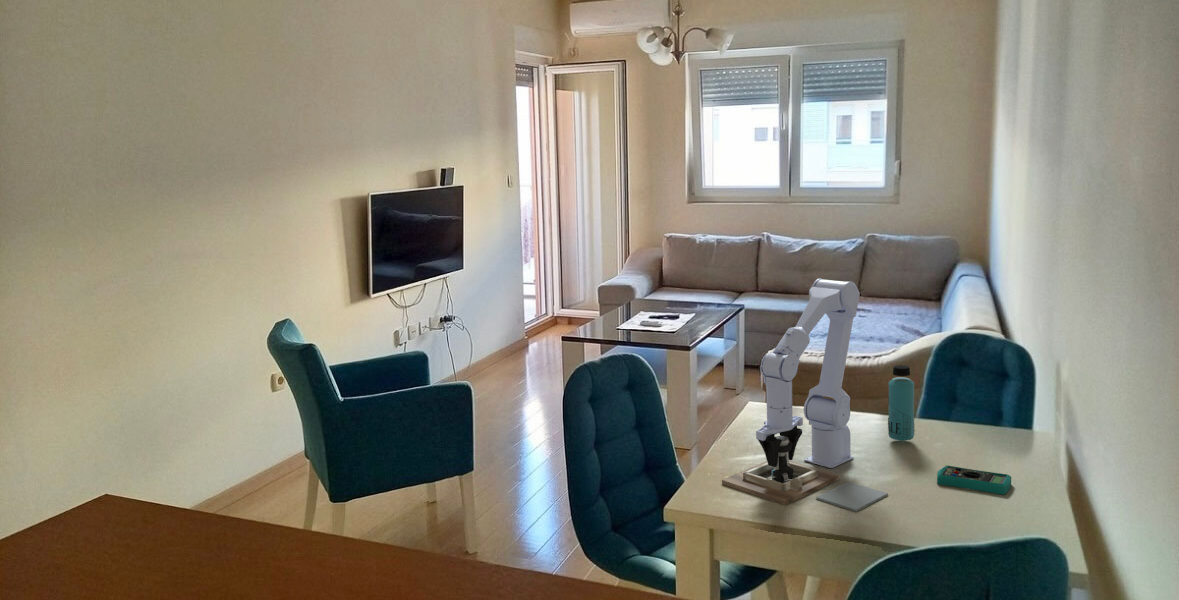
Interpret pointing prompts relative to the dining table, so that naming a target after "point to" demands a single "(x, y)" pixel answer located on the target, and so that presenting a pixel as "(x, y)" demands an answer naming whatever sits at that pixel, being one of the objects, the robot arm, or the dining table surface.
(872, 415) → the dining table surface
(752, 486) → the brown flat rectangular frame
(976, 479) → the digital multimeter
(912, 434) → the beverage bottle
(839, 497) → the rubber mat
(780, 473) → the push button
